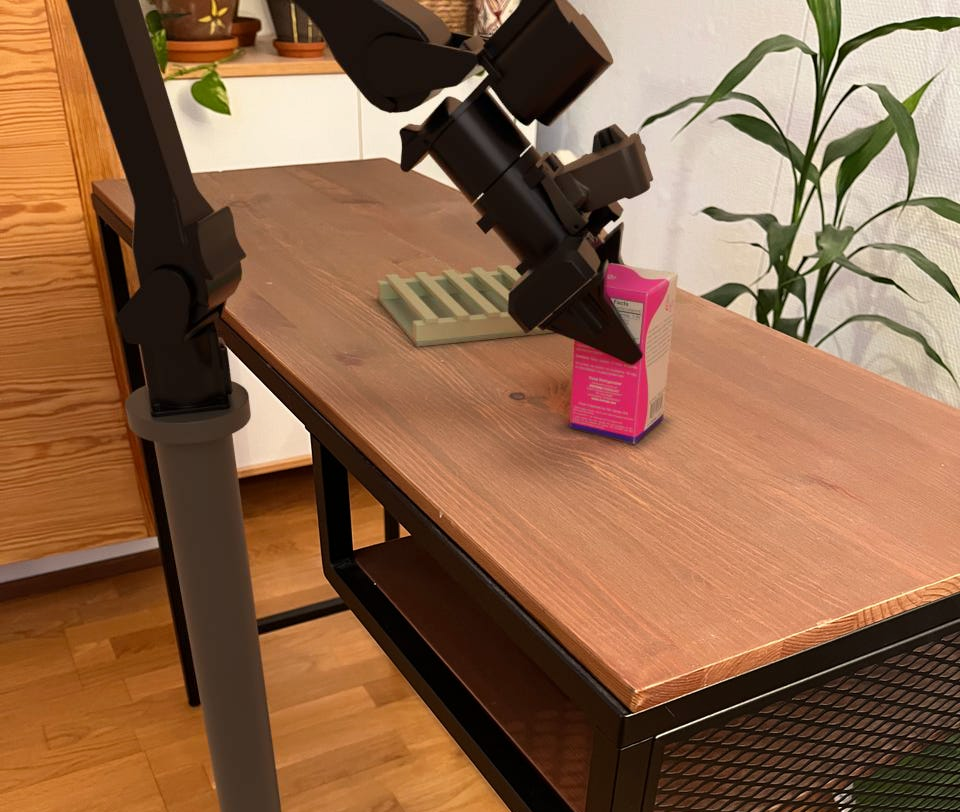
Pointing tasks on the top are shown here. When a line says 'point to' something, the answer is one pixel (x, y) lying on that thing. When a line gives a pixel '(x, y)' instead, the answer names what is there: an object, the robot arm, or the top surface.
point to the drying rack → (453, 305)
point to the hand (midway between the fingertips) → (642, 343)
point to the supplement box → (616, 384)
